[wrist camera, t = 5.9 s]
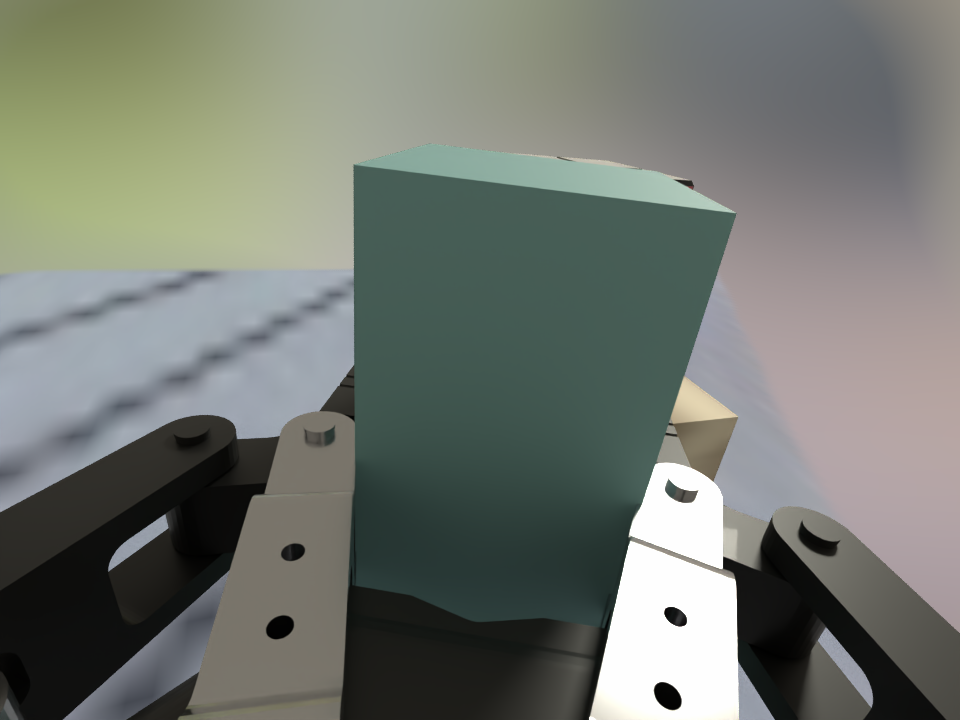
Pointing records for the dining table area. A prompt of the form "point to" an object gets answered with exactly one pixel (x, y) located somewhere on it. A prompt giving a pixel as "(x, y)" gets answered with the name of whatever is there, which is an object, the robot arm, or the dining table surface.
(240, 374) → the dining table surface
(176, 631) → the dining table surface
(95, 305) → the dining table surface
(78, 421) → the dining table surface
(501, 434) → the pillar
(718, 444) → the slab
